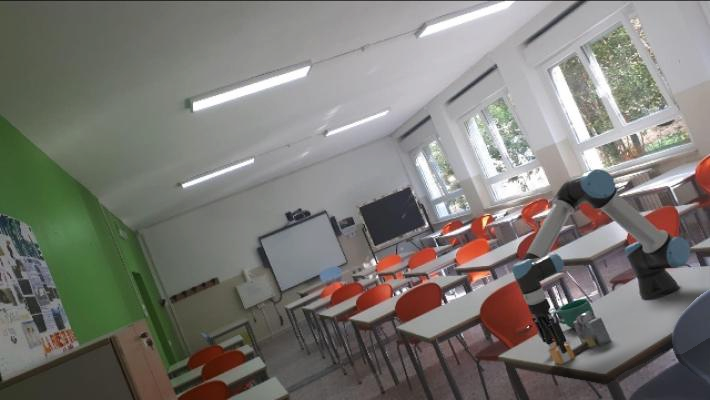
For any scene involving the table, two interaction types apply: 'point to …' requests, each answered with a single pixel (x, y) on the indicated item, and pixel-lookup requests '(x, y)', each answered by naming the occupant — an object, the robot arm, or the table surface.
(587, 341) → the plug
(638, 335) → the table surface
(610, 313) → the table surface
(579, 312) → the mug
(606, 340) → the housing
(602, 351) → the table surface
